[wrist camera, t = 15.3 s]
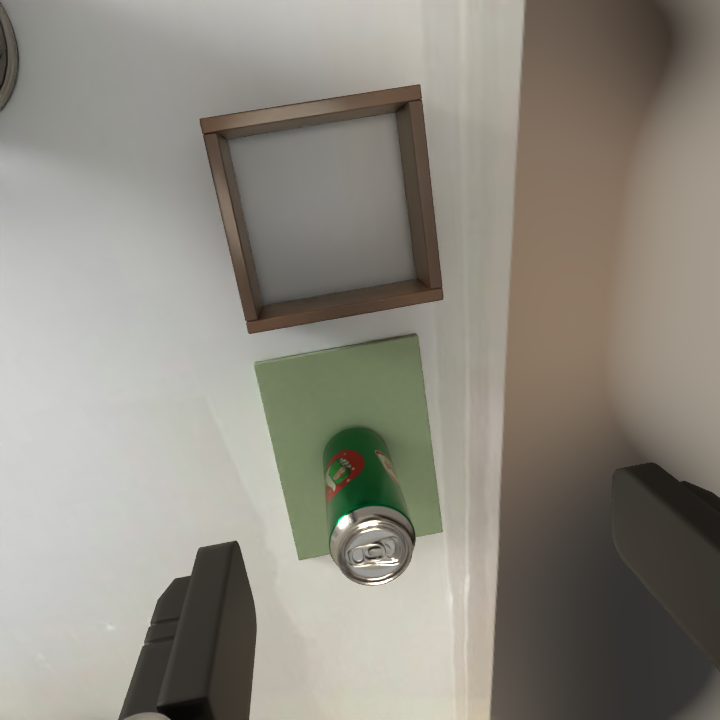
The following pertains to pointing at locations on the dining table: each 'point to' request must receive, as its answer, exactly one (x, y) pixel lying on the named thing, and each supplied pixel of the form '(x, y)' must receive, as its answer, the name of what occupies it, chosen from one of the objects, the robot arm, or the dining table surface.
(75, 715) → the dining table surface
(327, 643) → the dining table surface
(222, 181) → the crate
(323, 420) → the mat
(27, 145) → the dining table surface
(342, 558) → the soda can
